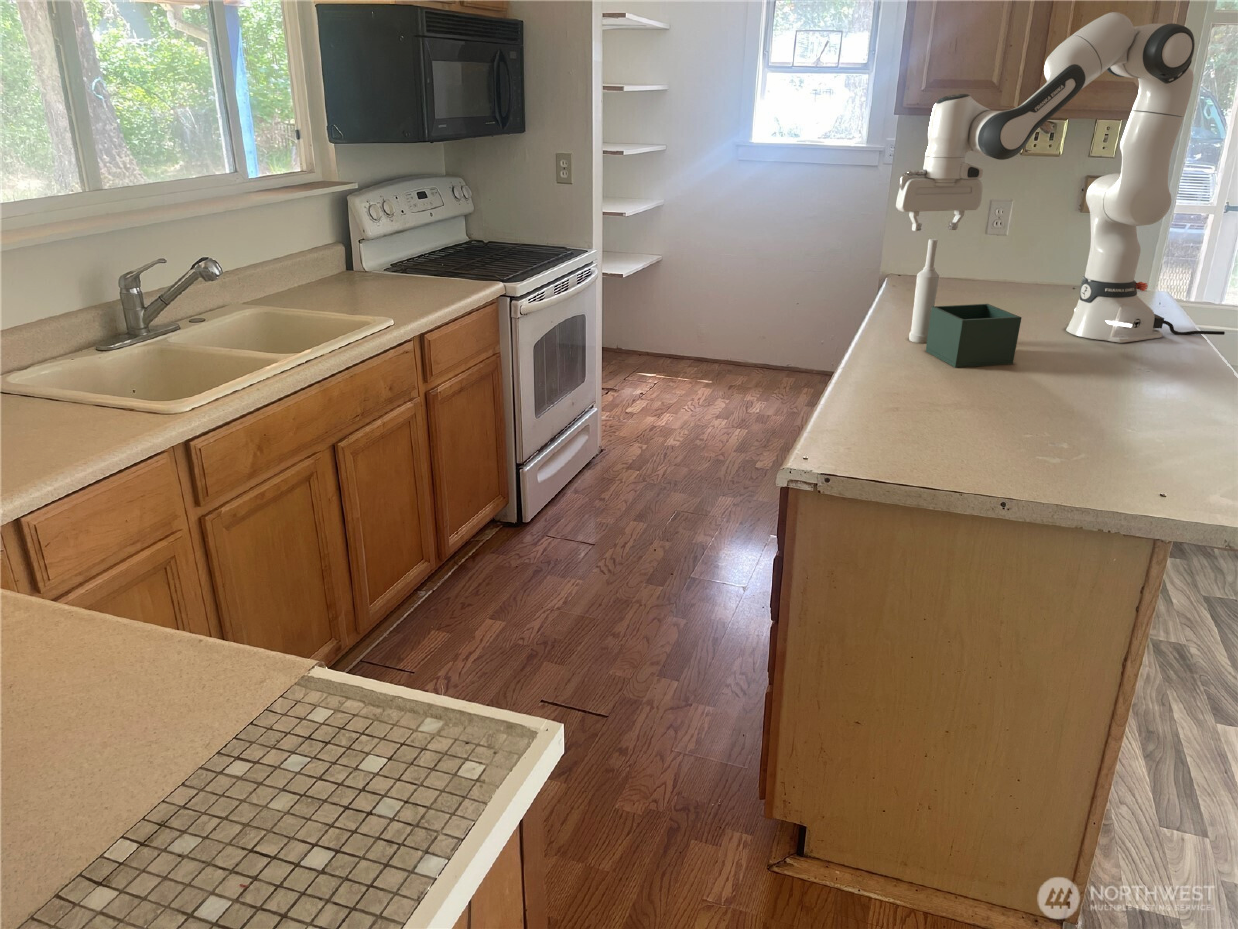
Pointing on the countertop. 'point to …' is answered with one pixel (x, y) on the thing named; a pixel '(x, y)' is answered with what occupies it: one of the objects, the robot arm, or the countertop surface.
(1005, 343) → the bin
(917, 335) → the bottle
